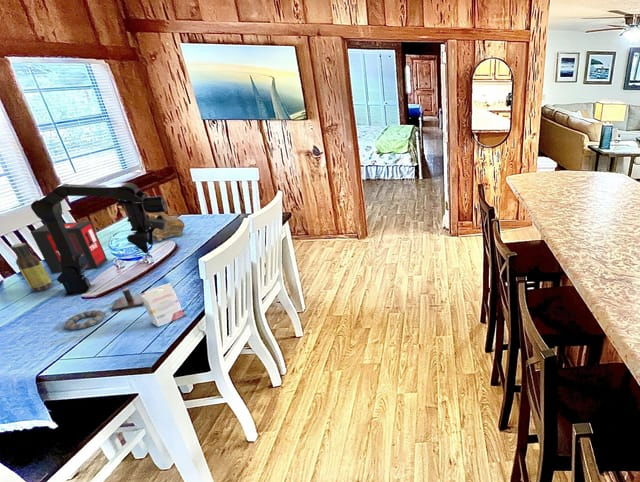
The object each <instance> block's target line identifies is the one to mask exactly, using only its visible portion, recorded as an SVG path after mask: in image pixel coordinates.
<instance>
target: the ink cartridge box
mask: <svg viewBox="0 0 640 482" xmlns="http://www.w3.org/2000/svg"><path fill="white" fill-rule="evenodd" d="M143 293H144V294H145V295H143V296H141V297H142V300H143V302H144V303H143V305H144V307H145V309H146V312H147V314H148V316H149V318H150V321H151V323H152V324H153V325H154V326H156V327H157V328H160V327H162V326H165V325H167V324H169V323H171V322H174V321H176V320H179V319H180V318H183V317H185V316H184V315H185V314H184V312H183V309H182V307H181V304H180V301H179V299H178V297H177V293H176V291H175V289H174V288H173V285H172V283H171V282H167V283H165V284H161V285H159V286H156V287H154V288H152V289H148V290H145V291H144V292H143Z"/></svg>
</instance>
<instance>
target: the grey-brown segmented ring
mask: <svg viewBox="0 0 640 482" xmlns="http://www.w3.org/2000/svg"><path fill="white" fill-rule="evenodd" d="M105 316H106V314H105V313H104V312H103V311H102V310H97V309H95V310H94V309H93V310H88V311H87V310H86V311H83V312H80V313H77V314H74V315H72V316H70V317H69V318H68V319H67V320H66V321H65V322H64V324H63V326H64V327H65V329H67V330H68V331H69V330H72V331H78V330H82V329H87V328H89V327H93V326H95V325H97V324H99V323H100V322H101V321H103V320H104V318H105ZM89 317H93V318H92V319H90V320H87V321H85V322H80V323H76V322H78V321H79V320H82V319H85V318H89Z"/></svg>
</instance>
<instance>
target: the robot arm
mask: <svg viewBox="0 0 640 482" xmlns="http://www.w3.org/2000/svg"><path fill="white" fill-rule="evenodd" d="M67 197H106V198H111V199H115V200H118V201H117V203H116V204H115V206H116V207H121V206H123V207H124V211H125V213H126V216H127V219H126V221H127V223H129V224H130V226H131V227H130V231H131V232H129V234H128V235H127V237H126V239H127V242H128V243H131V244H133V245H134V246H135V247H137V248H138V249H139V250H140V251H142V252H143V253H144V254H149V247H148V245H149V246H153V245H154V239H153V231H154V230H155V229H160V230H164V228H165V226H166V219H164V217H163V215H158V216H157V217H156V218H155V217H154V218H150V217H149V215H148V214H147V212H149V213H157V212H164V213H165V212H166V213H167V212H168V203H167V201H166V200H165V199H164V198H163V195H162V194H160V195H154V196H152V195H151V196H149V195H148V194H147V193H145V192H144V191H143V190H142V189H140V188H139V186H138V185H136V184H135V183H133V182H120V183H114V184H108V185H107V184H106V185H105V184H71V183H70V184H69V183H62V184H60V185H57V186H55V188H54V189H53V190H52V191H51V192H49V193H48V194H47V195H43V196H41V197H40V198H37V199H36V200H34V201H33V202H32V203H31V204H30V209H31V211H33V213H34V215H35V216H36V217H37V218H39V219H40V220H41V221H42V222H44V225H46V226H47V228H48V230H49V232H50V235H51V237H52V239H53V241H54V243H55V245H56V247H57V250H58V252H59V254H60V267H61V272H62V273H60V274H59V275H58V277H57V278H56V281H57V282H58V283H59V284H62V286H63V288H64V290H65V292H66V293H65V296H67V297H68V296H74V295H79V294H80V295H81V294H84V293H85V294H86V293H88V292H89V290H90V289H91V287H92V286H93V285H92V284H91V282H90V280H89V278H88V277H87V276H86V275H85V274H84V273H85V271H86V270H85V269H86V267H87V266H88V262H89V261H88V260H87V259H86V255H85V254H81V255H80V254H79V253H78V252H77V251H76V250H75V247H74V245H73V243H72V241H71V238H70V236H69V234H68V232H67V229H66V227H65V225H64V223H65V222H64V221H63V207H62V202H63V201H64V200H65V199H66V198H67Z"/></svg>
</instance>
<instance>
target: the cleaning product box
mask: <svg viewBox="0 0 640 482" xmlns="http://www.w3.org/2000/svg"><path fill="white" fill-rule="evenodd" d="M63 223H64V225H65V227H66V229H67V232H68V234H69V236H70V238H71V241H72V243H73V245H74V247H75V250H76V251H77V252H78V253H79V254H80V255H81V254H85V255H86V259H87V260H88V261H89V262H88V266H87V267H86V269H85V270H84V271H90V270H98V269H99V268H100V267H102V266H103V265H104V264H105V263H106V262H107V261H108V258H107V256H106V253H105V251H104V248H103V246H102V244H101V242H100V240H99V237H98V235H97V233H96V231H95V228H94V226H93V224H92V221H91V220H88V221H87V220H86V221H75V222H63ZM30 234H31V237H32V238H33V240H34V242H35V244H36V245H37V248H38V250H39V252H40V253H41V255H42V257H43V260H44V262H45V263H46V266H47V267H48V269H49V272H50V273H51V274H52V275H53V274H61V273H62V272H61V267H60V254H59V252H58V250H57V247H56V245H55V243H54V241H53V239H52V237H51V235H50V232H49V230H48V228H47V226H46V224H43V225H41V226H38V227H37V228H35V229H33V230H32V231H30Z"/></svg>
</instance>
